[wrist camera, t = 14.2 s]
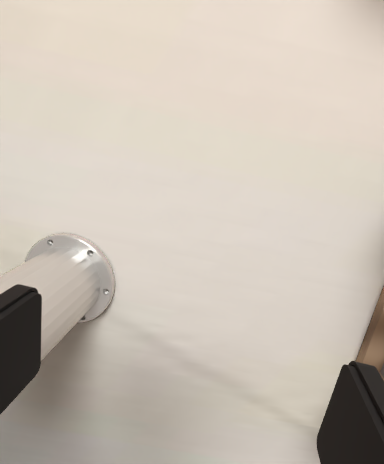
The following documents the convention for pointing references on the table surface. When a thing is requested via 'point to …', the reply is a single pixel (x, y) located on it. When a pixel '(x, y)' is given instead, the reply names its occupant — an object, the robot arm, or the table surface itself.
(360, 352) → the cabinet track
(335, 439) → the robot arm
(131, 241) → the table surface
